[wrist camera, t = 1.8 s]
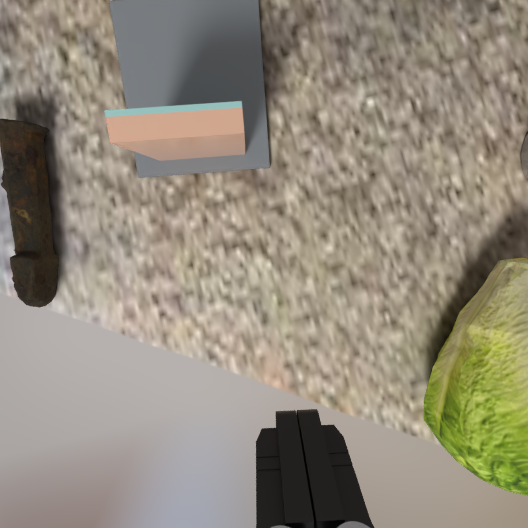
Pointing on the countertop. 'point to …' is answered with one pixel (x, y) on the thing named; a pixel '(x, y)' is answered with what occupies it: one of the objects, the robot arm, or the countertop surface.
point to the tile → (179, 130)
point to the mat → (194, 69)
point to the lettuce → (486, 381)
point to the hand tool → (29, 211)
